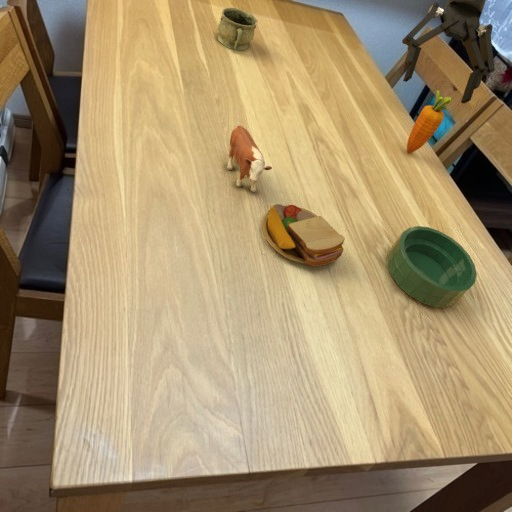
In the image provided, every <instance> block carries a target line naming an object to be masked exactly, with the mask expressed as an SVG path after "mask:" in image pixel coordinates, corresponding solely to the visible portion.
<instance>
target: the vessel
mask: <svg viewBox="0 0 512 512" xmlns="http://www.w3.org/2000/svg"><path fill="white" fill-rule="evenodd" d="M257 24H258V19H257V18H256V17H255V16H254V15H253V14H251V13H250V12H248V11H246V10H244V9H240V8H236V7H225V8H223V9H222V11H221V15H220V21H219V23H218V25H217V30H218V32H219V33H218V36H217V39H218V41H219V42H220V43H221V44H222V45H223V46H225V47H226V48H229V49H231V50H233V51H244V50H247V49H248V48H249V43H250V42H251V41H252V40H253V39H254V36H255V29H256V28H257Z"/></svg>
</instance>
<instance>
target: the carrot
mask: <svg viewBox="0 0 512 512" xmlns="http://www.w3.org/2000/svg"><path fill="white" fill-rule="evenodd" d="M440 95H441V90H436V93H435V99H434V104H433V105H424V107H423V108H422V110H421V111H420V113H419V115H418V116H417V118H416V120H415V122H414V124H413V127H412V128H411V130H410V133H409V136H408V139H407V144H406V153H407V154H408V155H409V154H412V153H414V152H416V151H418V150H419V149H421V148H422V147H423V146H425V144H426V143H428V141H430V139H431V138H432V137H433V136H434V134H435V132H437V130H438V129H439V127H440V126H441V124H443V121H444V118H445V113H444V112H443V110H444V111H445V110H448V109H449V108H448V106H446V105H448V104H450V103H451V102H452V101H453V100H452V97H451V96H446V97H444V98H443V96H440Z"/></svg>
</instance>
